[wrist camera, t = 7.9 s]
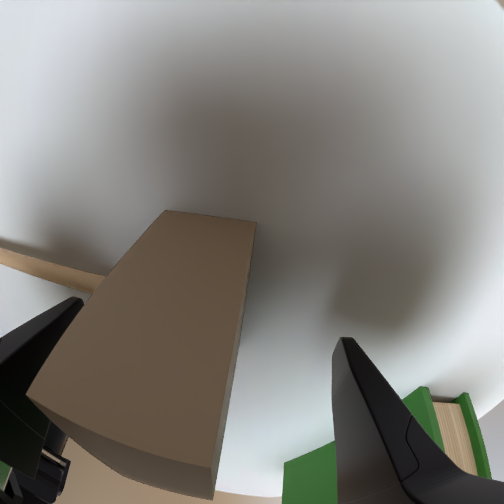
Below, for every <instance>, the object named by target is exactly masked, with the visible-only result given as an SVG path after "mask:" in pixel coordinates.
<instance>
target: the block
mask: <svg viewBox="0 0 504 504" xmlns="http://www.w3.org/2000/svg"><path fill="white" fill-rule="evenodd" d="M255 229H256V222H250V221H243V220H236V219H229V218H222V217H215V216H207V215H200V214H192V213H184V212H176V211H168V210H165V211H164V212H163V213H162V214H161V215H160V216H159V217H158V218H157V219H156V220H155V221H154V222H153V223H152V224H151V226H150V227H149V228H148V229H147V230H146V231H145V232H144V233H143V234H142V235H141V237H140V238H139V239H138V240H137V241H136V242H135V243H134V244H133V246H132V247H131V248H130V249H129V250H128V251H127V253H126V254H125V255H124V256H123V257H122V258H121V260H120V261H119V262H118V263H117V264H116V265H115V267H114V268H113V269H112V270H111V272H110V273H109V274H108V275H107V276H102V275H98V274H94V273H89V272H85V271H81V270H77V269H73V268H70V267H66V266H62V265H58V264H54V263H51V262H47V261H43V260H40V259H36V258H33V257H29V256H26V255H23V254H19V253H16V252H13V251H9V250H6V249H3V248H0V264H3V265H5V266H8V267H11V268H13V269H16V270H19V271H22V272H24V273H27V274H30V275H33V276H36V277H39V278H42V279H45V280H48V281H51V282H54V283H57V284H60V285H64V286H67V287H70V288H73V289H77V290H80V291H84V292H87V293H91V294H92V295H91V297H90V298H89V299H88V301H87V302H86V303H85V305H84V306H83V307H82V309H81V310H80V311H79V313H78V314H77V315H76V317H75V318H74V320H73V321H72V322H71V324H70V325H69V327H68V328H67V329H66V331H65V332H64V334H63V335H62V337H61V338H60V340H59V341H58V343H57V344H56V346H55V347H54V349H53V350H52V352H51V353H50V355H49V356H48V358H47V359H46V361H45V363H44V364H43V366H42V367H41V369H40V371H39V372H38V374H37V376H36V377H35V379H34V381H33V382H32V384H31V386H30V388H29V389H28V391H27V393H26V395H27V396H28V398H29V399H30V400H31V401H32V402H33V403H34V404H35V405H36V406H37V407H38V408H39V409H40V410H41V411H42V412H43V413H44V414H45V415H46V416H47V417H48V418H49V419H50V420H51V421H52V422H53V423H54V424H55V425H56V426H57V427H59V428H60V429H61V430H62V431H63V432H64V433H65V434H66V435H68V436H69V437H70V438H71V439H73V440H74V441H75V442H76V443H77V444H79V445H80V446H81V447H82V448H83V449H85V450H86V451H87V452H89V453H90V454H91V455H93V456H94V457H95V458H97V459H98V460H100V461H101V462H102V463H104V464H105V465H107V466H108V467H110V468H111V469H113V470H114V471H116V472H117V473H119V474H120V475H122V476H124V477H127V478H129V479H132V480H135V481H137V482H140V483H143V484H147V485H150V486H153V487H156V488H160V489H163V490H167V491H170V492H174V493H178V494H183V495H187V496H192V497H196V498H202V499H207V500H213V496H214V491H215V485H216V479H217V473H218V467H219V461H220V455H221V450H222V444H223V438H224V432H225V426H226V420H227V414H228V408H229V402H230V396H231V390H232V384H233V378H234V372H235V366H236V360H237V355H238V349H239V342H240V335H241V328H242V321H243V314H244V307H245V300H246V293H247V285H248V278H249V271H250V264H251V257H252V250H253V243H254V236H255Z"/></svg>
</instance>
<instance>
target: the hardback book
mask: <svg viewBox="0 0 504 504" xmlns="http://www.w3.org/2000/svg"><path fill="white" fill-rule="evenodd" d="M402 401H403V402H404V404H405V405H406V406H407V408H408V409H409V410H410V412H411V413H412V414H411V415H413V416H414V417H415V418H416V420H417V421H418V422H419V424H420V425H421V426H422V427H423V429H424V430H425V431H426V432H427V434H428V435H429V436H430V437H431V438H432V439H433V440H434V442H435V443H436V444H437V445H438V446H439V447H440V448H441V449H442V450H443V451H444V452H445V453H446V455H447V456H448V457H449V458H450V459H451V460H452V461H453V462H454V463H455V464H456V465H457V466H458V467H459V468H460V469H462V470H463V471H465V472H467V473H469V474H473V475H476V476H480V477H484V478H488V479H492V477H491V472H490V468H489V463H488V457H487V453H486V449H485V445H484V441H483V438H482V434H481V431H480V427H479V424H478V420H477V417H476V414H475V411H474V408H473V405H472V402H471V400H470V397H469V394H468V393H462V394H461V395H460V396H459V397H457V398H456V399H455V400H453V401H452V402H451V403H439V402H432V399H431V395H430V392H429V389H428V388H427V387H421V386H420V387H419V388H418V389H416V390H415V391H414V392H412V393H411V394H409V395H408V396H407V397H405V398H404V399H403V400H402ZM282 504H337V469H336V450H335V441H333V442H331V443H329V444H327V445H325V446H323V447H320V448H318V449H316V450H314V451H312V452H309V453H307V454H305V455H303V456H300V457H298V458H295V459H293V460H291V461H288V462H285V463H284V477H283V493H282Z"/></svg>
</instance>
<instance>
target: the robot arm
mask: <svg viewBox="0 0 504 504" xmlns="http://www.w3.org/2000/svg"><path fill="white" fill-rule="evenodd" d="M83 306H84V302H83V300H82V299H81V298H78V297H70V298H68V299H67V300H65V301H63V302H61V303H59V304H58V305H56V306H54V307H52V308H50V309H49V310H47V311H45V312H43V313H42V314H40V315H38V316H36V317H35V318H33V319H31V320H29V321H28V322H26V323H24V324H23V325H21V326H19V327H18V328H16V329H14V330H13V331H11V332H9V333H8V334H6V335H4V336H3V337H1V338H0V504H52V503H54V502H55V500H56V497H57V495H58V496H60V495H61V493H62V491H63V489H64V485H65V481H66V477H67V473H68V470H69V466H70V462H71V461H70V460H68V459H66V458H63V457H62V456H61V455H62V452H63V450H64V447H65V444H66V442H67V439H68V437H69V436H68V435H66V434H65V433H64V432H63V431H62V430H61V429H60V428H59V427H57V426H56V425H55V424H54V423H53V422H52V421H51V420H50V419H49V418H48V417H47V416H46V415H45V414H44V413H43V412H42V411H41V410H40V409H39V408H38V407H37V406H36V405H35V404H34V403H33V402H32V401H31V400H30V399H29V398H28V396H27V395H26V393H27V391H28V389H29V388H30V386H31V384H32V382H33V381H34V379H35V377H36V376H37V374H38V372H39V371H40V369H41V367H42V366H43V364H44V363H45V361H46V359H47V358H48V356H49V355H50V353H51V352H52V350H53V349H54V347H55V346H56V344H57V343H58V341H59V340H60V338H61V337H62V335H63V334H64V332H65V331H66V329H67V328H68V327H69V325H70V324H71V322H72V321H73V320H74V318H75V317H76V315H77V314H78V313H79V311H80V310H81V309H82V307H83ZM332 411H333V422H334V435H335V450H336V469H337V504H504V482H501V481H497V480H492V479H488V478H484V477H480V476H476V475H473V474H469V473H467V472H465V471H463V470H462V469H460V468H459V467H458V466H457V465H456V464H455V463H454V462H453V461H452V460H451V459H450V458H449V457H448V456H447V455H446V453H445V452H444V451H443V450H442V449H441V448H440V447H439V446H438V445H437V444H436V443H435V442H434V440H433V439H432V438H431V437H430V436H429V435H428V434H427V432H426V431H425V430H424V429H423V427H422V426H421V425H420V424H419V422H418V421H417V420H416V418H415V417H414V416H413V415H411V414H412V413H411V412H410V410H409V409H408V408H407V406H406V405H405V404H404V402H403V401H402V400H401V399H400V397H399V396H398V395H397V393H396V392H395V391H394V389H393V388H392V387H391V386H390V384H389V383H388V382H387V380H386V379H385V378H384V376H383V375H382V374H381V373H380V371H379V370H378V369H377V367H376V366H375V365H374V364H373V362H372V361H371V360H370V359H369V357H368V356H367V355H366V353H365V352H364V351H363V350H362V348H361V347H360V346H359V345H358V343H357V342H356V341H355V340H354V339H353V338H351V337H341V338H340V339H339V341H338V343H337V345H336V347H335V350H334V352H333V355H332ZM42 449H43V450H44V451H46V452H47V453H49V454H50V455H52V456H54V457H55V458H57V459H59V460H60V463H58V462H56V461H55V460H53V459H52V458H50V457H48V456H46V455H45V454H44V453H42Z"/></svg>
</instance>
